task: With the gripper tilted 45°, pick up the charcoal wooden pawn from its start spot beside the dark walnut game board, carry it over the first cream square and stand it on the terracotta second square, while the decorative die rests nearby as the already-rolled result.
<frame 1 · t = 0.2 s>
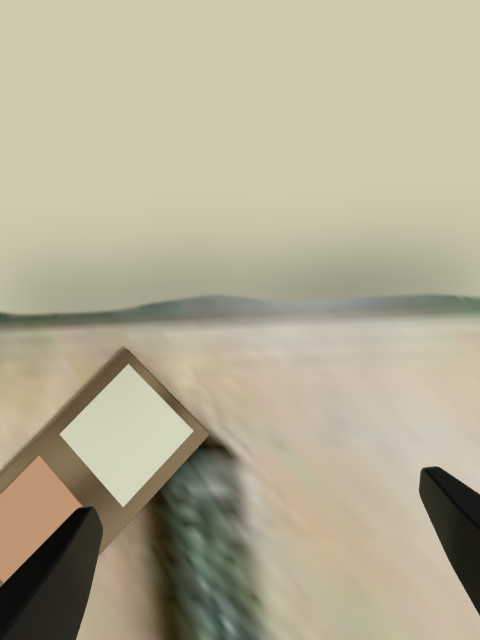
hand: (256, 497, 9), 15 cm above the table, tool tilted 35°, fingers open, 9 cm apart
game board: (37, 527, 23), on the table
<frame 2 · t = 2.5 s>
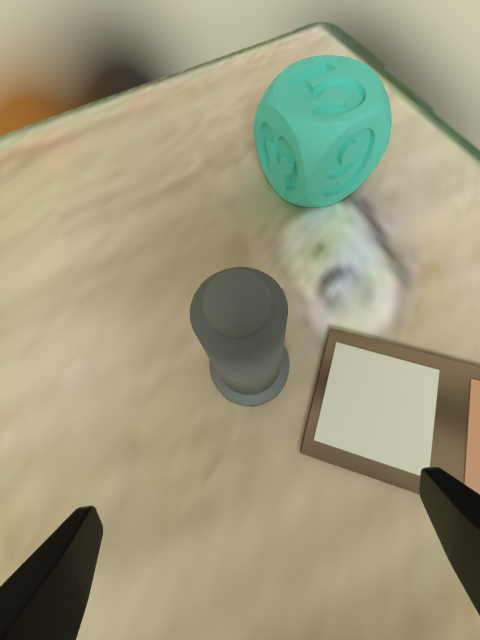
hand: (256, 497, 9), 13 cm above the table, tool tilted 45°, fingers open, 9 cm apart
pawn: (249, 367, 24), on the table
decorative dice: (312, 177, 31), on the table
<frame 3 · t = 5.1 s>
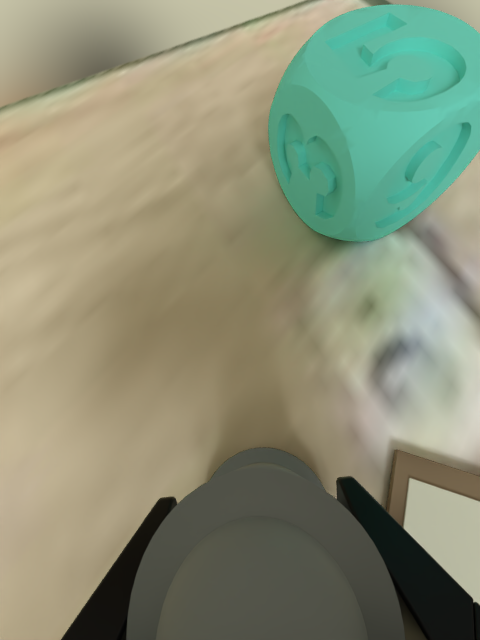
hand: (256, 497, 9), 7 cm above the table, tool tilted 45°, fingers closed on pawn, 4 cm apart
pawn: (265, 515, 14), on the table, touching gripper
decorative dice: (349, 195, 21), on the table
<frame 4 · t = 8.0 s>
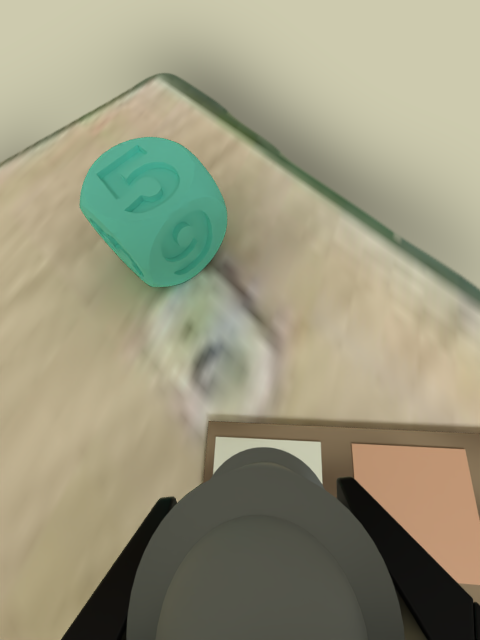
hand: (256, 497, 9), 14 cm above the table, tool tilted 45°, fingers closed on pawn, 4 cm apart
game board: (412, 507, 20), on the table
pawn: (265, 515, 14), point 7 cm above the table, touching gripper
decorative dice: (171, 248, 29), on the table
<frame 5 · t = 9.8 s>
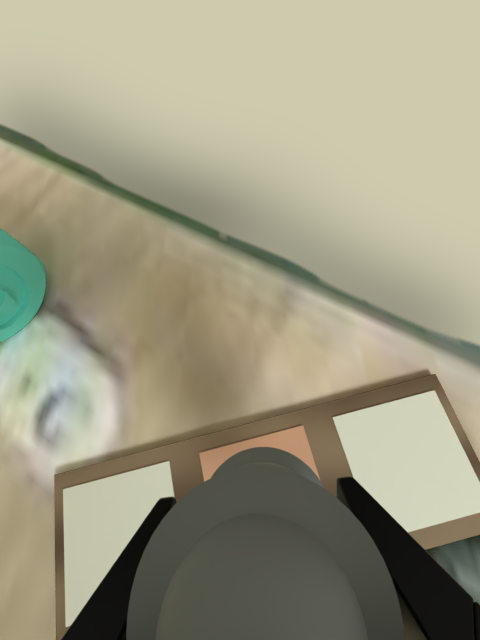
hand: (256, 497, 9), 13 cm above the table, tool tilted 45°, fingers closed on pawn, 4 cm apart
game board: (265, 497, 20), on the table
pawn: (265, 514, 14), point 6 cm above the table, touching gripper
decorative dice: (2, 301, 28), on the table
when the fingers open (8 cm above the table, at t = 11.0 s): pawn drops 1 cm, resting on game board.
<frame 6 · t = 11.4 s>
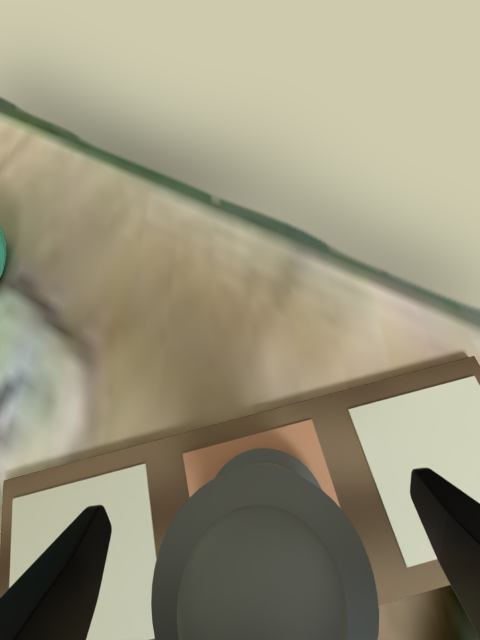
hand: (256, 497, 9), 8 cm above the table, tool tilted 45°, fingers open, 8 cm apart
game board: (265, 509, 16), on the table
pawn: (265, 511, 15), point 1 cm above the table, touching game board
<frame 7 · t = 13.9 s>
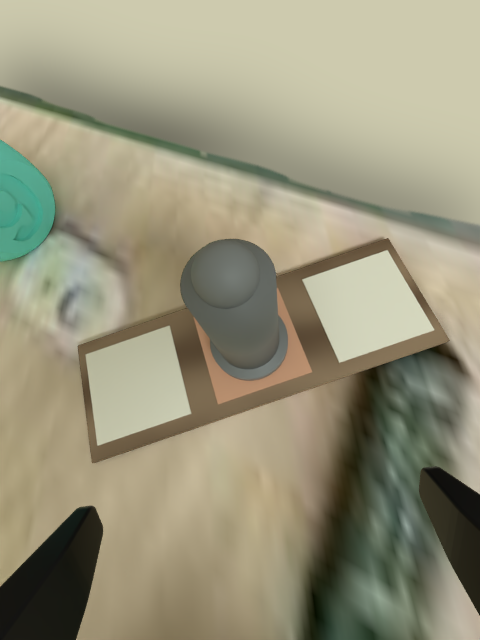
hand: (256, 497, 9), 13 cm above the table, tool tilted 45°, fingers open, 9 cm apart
game board: (250, 344, 24), on the table
pawn: (249, 342, 24), point 1 cm above the table, touching game board
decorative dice: (19, 227, 32), on the table
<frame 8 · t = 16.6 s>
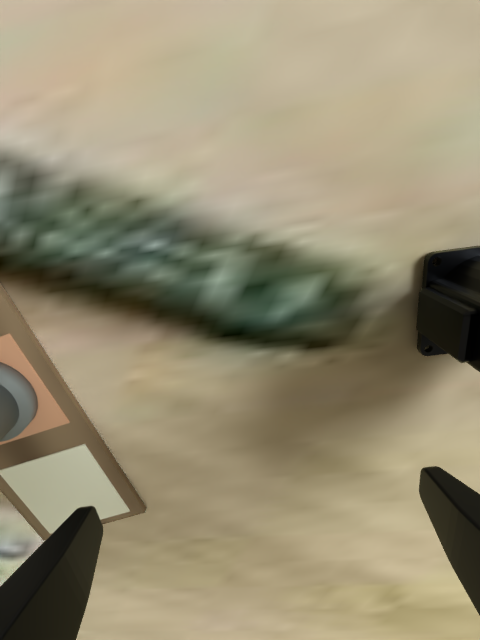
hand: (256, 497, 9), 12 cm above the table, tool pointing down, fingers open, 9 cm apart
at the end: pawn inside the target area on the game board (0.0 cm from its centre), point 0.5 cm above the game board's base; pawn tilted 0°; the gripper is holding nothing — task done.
